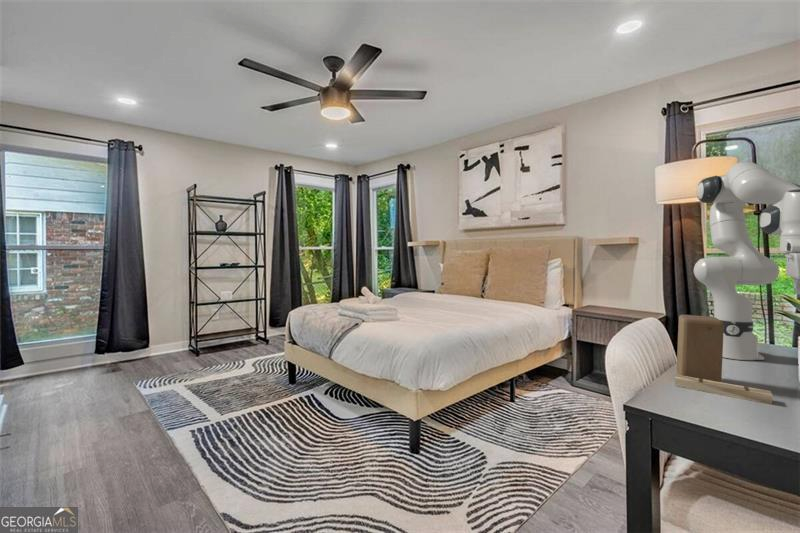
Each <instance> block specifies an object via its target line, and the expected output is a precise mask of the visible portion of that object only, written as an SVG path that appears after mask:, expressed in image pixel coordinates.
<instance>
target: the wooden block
mask: <svg viewBox="0 0 800 533" xmlns="http://www.w3.org/2000/svg"><path fill="white" fill-rule="evenodd" d="M677 328H678V329H677V330H678V331H677V351H676V353H677V354H676V357H677V358H676V372H677V375H682V376H688V377H693V378H701V379H705V380H710V381H716V382H722V377H723V376H722V375H723V357H722V356H723V333H724V324H723V322H722V321H720V320H719V319H717V318H715V317H714V316H707V315H695V314H694V315H692V314H679V316H678V326H677Z"/></svg>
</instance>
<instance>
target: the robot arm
mask: <svg viewBox="0 0 800 533" xmlns="http://www.w3.org/2000/svg"><path fill="white" fill-rule="evenodd" d="M696 195H697V199H698V201H700V202H701V203H705V204H712V205H711V206H710V208H709V209H710V210H709V229H710V230H709V231H710V238H711V243H712V245H713V246H714V248H715V249H717V250H719V251H722V252H724V253H725V254H726V255H728V256H710V257H704V258H700V259H698V261H697V262H696V263H695V264H694V267H693V275H694V277H695V278H696V280H697V281H699V283H701V284H702V285H704V286H705V287H707V289H708V290H709V291H710V293H711V295H712V298H713V317H715V318H717V319H719V320H720V321H722V322H723V324H724V333H723V356H722V358H725V359H731V360H737V361H738V360H740V361H755V360H756V361H760V360H761V361H764V360H765V357H764V356H763V355H762V354H760V353H759V337H758V336H756V335H755V334H754V333H753V331H754V321H753V319H752V318H753V303H752V301H751V299H749V298H748V296H745V295H743V294H741V293H738V291H737V289H736V286H739V285H740V286H763V285H769V284H772V283H774V282H775V281H777V279H778V277H779V276H780V268H779V265H778V263H777V262H776V261H774V259H771V258H769V257H767V256H765V255H764V254H763V253H762V252H760V251H759V250H758V249H757V248H756V247H755V246H754V245H753V243H752V240H751V238H750V236H749V231H748V226H747V222H746V217H745V214H744V213H745V212H744V208H745V205H746V204H747V205H749V206H753V205H769V206H766V208H764V209H762V211H760V213H759V216H758V227H759V229H761V231H762V232H763V233H765V234H767V235H771V236H780V237H779V252H781V253H782V252H785V256H784V257H785V258H786V262H785V275H786V276H787V277H790V278H792V282H793V293H794V294H796V295H800V185H799V184H798V183H797V184H796V183H794V182H790V181H789V180H785V179H782V178H780V177H778V176H776V175H774V174H772V173H771V172H769V171H768V170H767V169H766V168H764V167H763V166H761V165H759V164H757V163H755V162H753V161H752V162H751V161H741V162H738V163H735V164H734V165H732V166H731V167H730V168H728V170H727V171H726V174H725V175H713V176H708V177H705V178H703V179H702V180H700V182H699V183H698V185H697V187H696Z"/></svg>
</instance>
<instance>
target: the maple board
mask: <svg viewBox="0 0 800 533" xmlns="http://www.w3.org/2000/svg"><path fill="white" fill-rule="evenodd" d="M674 386H675V387H678V386H679V388H683V387H685V388H684V389H690V390H695V391H700V392H705V393H709V394H717V395H719V396H727V397H730V398H737V399H741V400H746V401H752V402H757V403H760V404H761V403H762V404H767V405H773V394H772V391H771V390H766V389H761V388H756V387H751V386H750V387H749V386H748V385H747V386H746V385H744V386H743V385H738V384H732V383H727V382H723V381H721V382H716V381H710V380H705V379H701V378H693V377H688V376H682V375H679V374H675V378H674Z"/></svg>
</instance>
